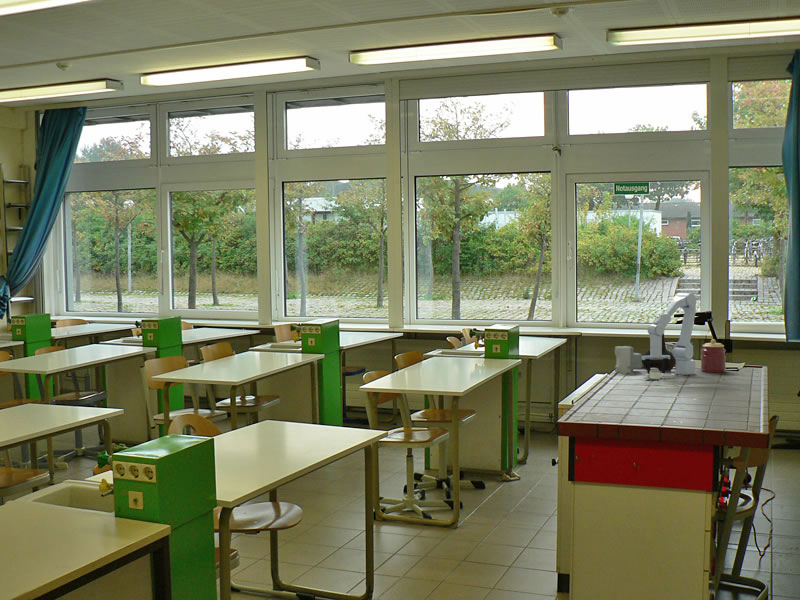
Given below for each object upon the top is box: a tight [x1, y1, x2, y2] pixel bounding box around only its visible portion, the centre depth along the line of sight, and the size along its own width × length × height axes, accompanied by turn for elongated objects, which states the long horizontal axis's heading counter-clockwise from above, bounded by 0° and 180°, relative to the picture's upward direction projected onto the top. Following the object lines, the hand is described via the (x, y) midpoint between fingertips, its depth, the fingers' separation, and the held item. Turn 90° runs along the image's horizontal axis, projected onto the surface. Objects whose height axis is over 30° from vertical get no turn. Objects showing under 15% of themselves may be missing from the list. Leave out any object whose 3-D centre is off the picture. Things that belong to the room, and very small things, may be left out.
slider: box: [649, 370, 661, 380], centre depth 414 cm, size 4×4×4 cm
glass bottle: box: [642, 333, 676, 372], centre depth 449 cm, size 18×18×28 cm
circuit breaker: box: [614, 345, 643, 374], centre depth 441 cm, size 8×14×15 cm, turn 89°
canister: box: [700, 338, 727, 373], centre depth 449 cm, size 13×13×18 cm
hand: (656, 373), depth 423 cm, fingers open, 7 cm apart
